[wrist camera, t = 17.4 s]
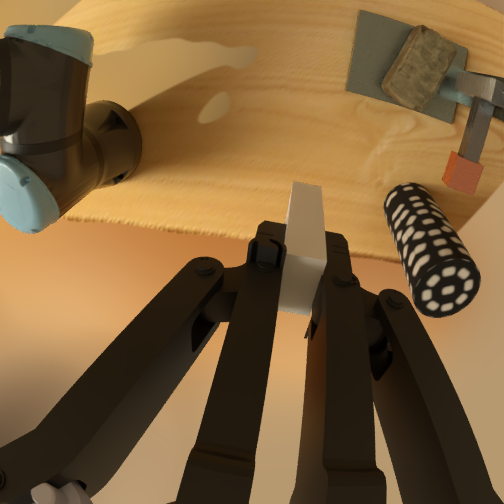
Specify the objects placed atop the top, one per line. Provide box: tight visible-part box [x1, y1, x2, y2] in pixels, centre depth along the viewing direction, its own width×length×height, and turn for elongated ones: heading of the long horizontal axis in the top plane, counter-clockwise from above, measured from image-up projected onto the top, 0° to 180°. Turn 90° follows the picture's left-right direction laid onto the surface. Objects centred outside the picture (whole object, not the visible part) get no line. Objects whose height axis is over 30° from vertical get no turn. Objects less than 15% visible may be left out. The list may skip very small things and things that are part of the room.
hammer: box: [442, 72, 504, 195], centre depth 26 cm, size 4×13×9 cm, turn 173°
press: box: [345, 10, 504, 124], centre depth 24 cm, size 20×12×24 cm, turn 83°
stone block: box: [381, 25, 457, 111], centre depth 30 cm, size 6×12×5 cm, turn 157°
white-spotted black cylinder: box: [384, 183, 481, 318], centre depth 37 cm, size 8×8×20 cm
